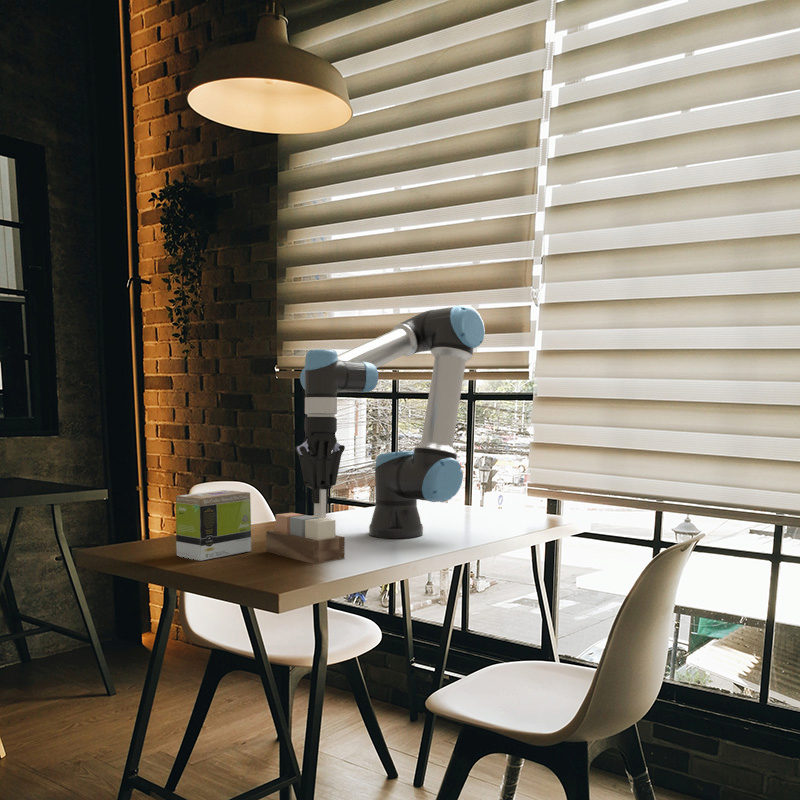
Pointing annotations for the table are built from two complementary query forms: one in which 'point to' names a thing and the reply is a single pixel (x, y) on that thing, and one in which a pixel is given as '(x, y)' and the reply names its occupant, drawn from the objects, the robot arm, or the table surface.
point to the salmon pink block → (284, 522)
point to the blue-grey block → (299, 525)
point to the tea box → (213, 524)
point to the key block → (305, 547)
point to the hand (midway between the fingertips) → (319, 517)
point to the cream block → (320, 529)
